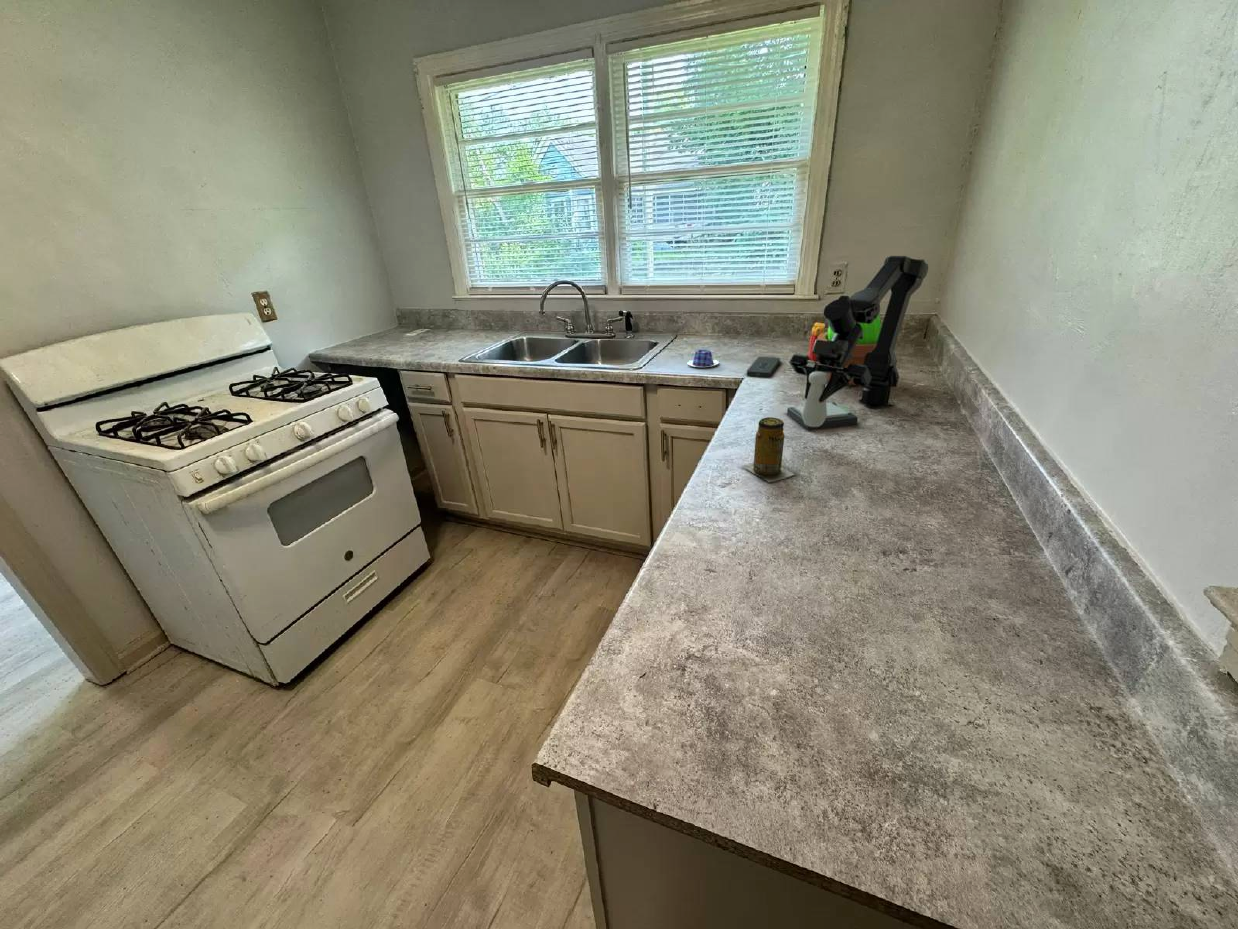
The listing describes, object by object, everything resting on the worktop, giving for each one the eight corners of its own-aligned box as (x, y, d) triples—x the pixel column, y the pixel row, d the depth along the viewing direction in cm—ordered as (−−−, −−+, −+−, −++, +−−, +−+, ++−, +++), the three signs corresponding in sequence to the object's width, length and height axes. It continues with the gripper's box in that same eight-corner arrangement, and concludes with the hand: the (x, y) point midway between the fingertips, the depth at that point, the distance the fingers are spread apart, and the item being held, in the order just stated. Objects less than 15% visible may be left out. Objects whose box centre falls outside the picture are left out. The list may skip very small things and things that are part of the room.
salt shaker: (827, 428, 119) (834, 376, 113) (802, 428, 120) (807, 376, 114) (823, 419, 124) (829, 369, 118) (799, 419, 125) (804, 369, 119)
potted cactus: (811, 386, 161) (820, 306, 149) (814, 367, 178) (823, 295, 167) (886, 390, 153) (902, 307, 141) (882, 370, 171) (896, 294, 159)
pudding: (723, 361, 192) (724, 348, 189) (711, 370, 183) (711, 356, 181) (695, 359, 198) (695, 346, 196) (682, 367, 189) (682, 353, 187)
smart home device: (746, 370, 174) (758, 356, 190) (745, 375, 175) (758, 360, 191) (770, 372, 171) (780, 357, 186) (769, 377, 171) (780, 361, 187)
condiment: (768, 460, 116) (773, 413, 111) (795, 475, 109) (800, 425, 104) (744, 468, 113) (747, 420, 108) (769, 483, 107) (773, 432, 101)
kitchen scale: (832, 408, 142) (834, 399, 141) (856, 424, 132) (858, 414, 130) (786, 414, 141) (787, 404, 140) (807, 430, 130) (808, 420, 129)
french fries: (808, 354, 193) (812, 321, 187) (819, 355, 192) (824, 321, 186) (809, 361, 186) (813, 326, 180) (821, 361, 184) (825, 326, 178)
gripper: (796, 320, 120) (767, 376, 119) (874, 330, 107) (841, 392, 106) (810, 345, 128) (782, 397, 127) (884, 357, 115) (854, 415, 114)
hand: (812, 400), depth 118 cm, fingers closed on salt shaker, 3 cm apart
